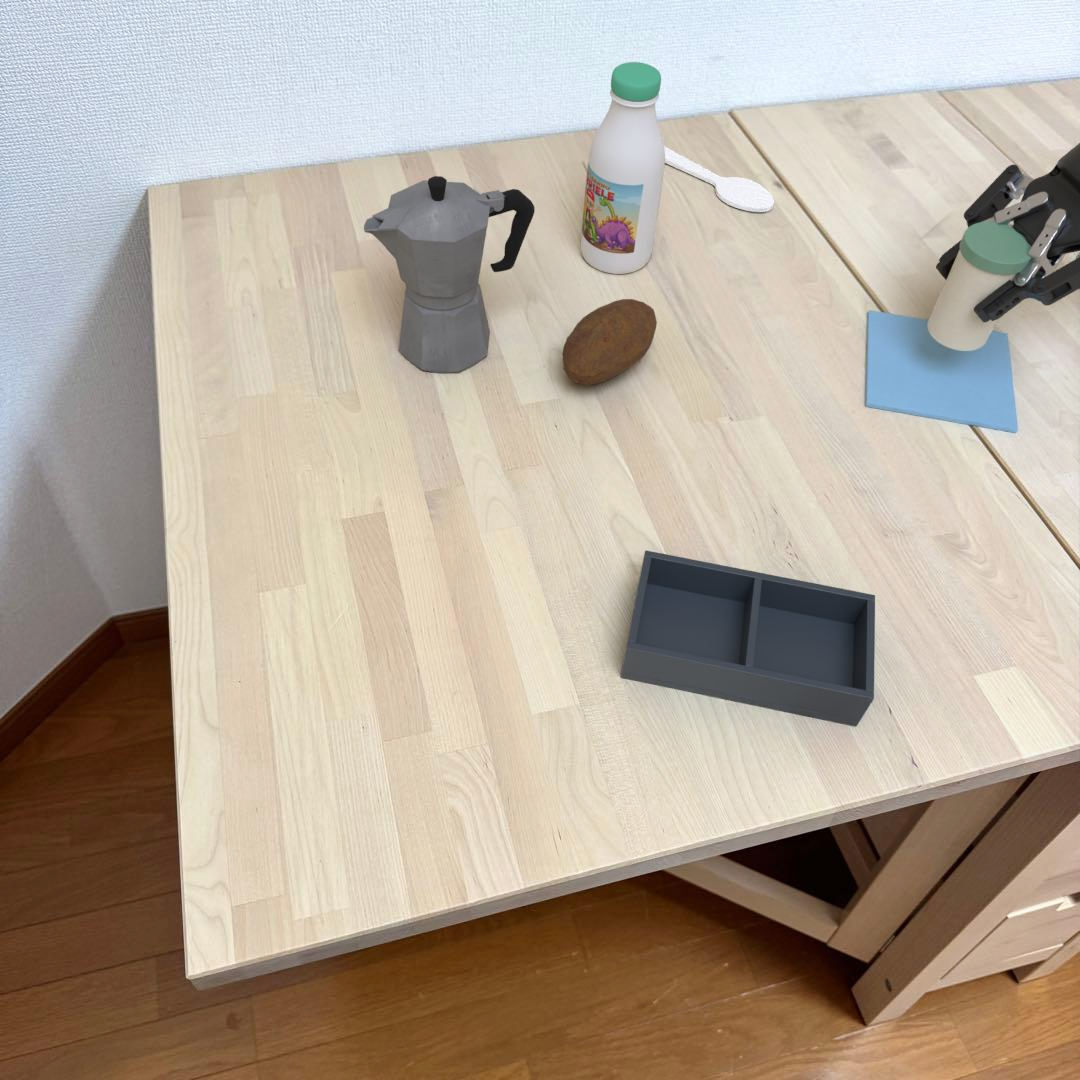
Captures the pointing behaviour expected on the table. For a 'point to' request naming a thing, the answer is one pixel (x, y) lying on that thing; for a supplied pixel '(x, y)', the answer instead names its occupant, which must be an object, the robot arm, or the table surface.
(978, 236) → the container
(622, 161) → the milk bottle
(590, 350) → the potato
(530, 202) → the coffeepot
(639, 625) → the divided tray
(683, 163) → the spoon
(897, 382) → the mat
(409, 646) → the table surface
